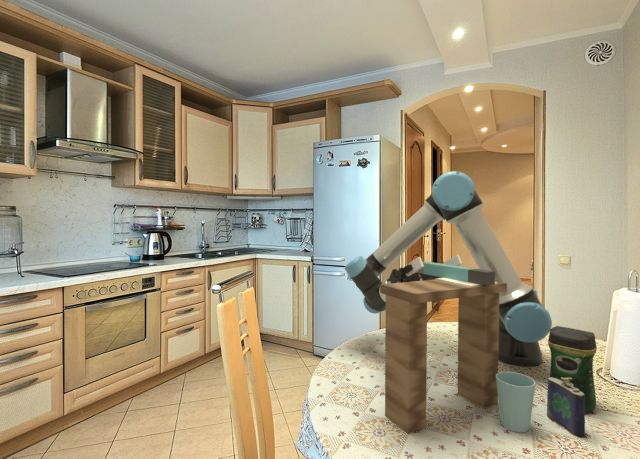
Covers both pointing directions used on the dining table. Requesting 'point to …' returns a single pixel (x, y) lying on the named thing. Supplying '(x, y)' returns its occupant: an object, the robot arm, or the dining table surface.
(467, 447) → the dining table surface
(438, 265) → the teal bar
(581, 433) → the flask
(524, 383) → the cup
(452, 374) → the dining table surface
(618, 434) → the dining table surface
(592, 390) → the coffee jar
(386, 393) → the shelf
